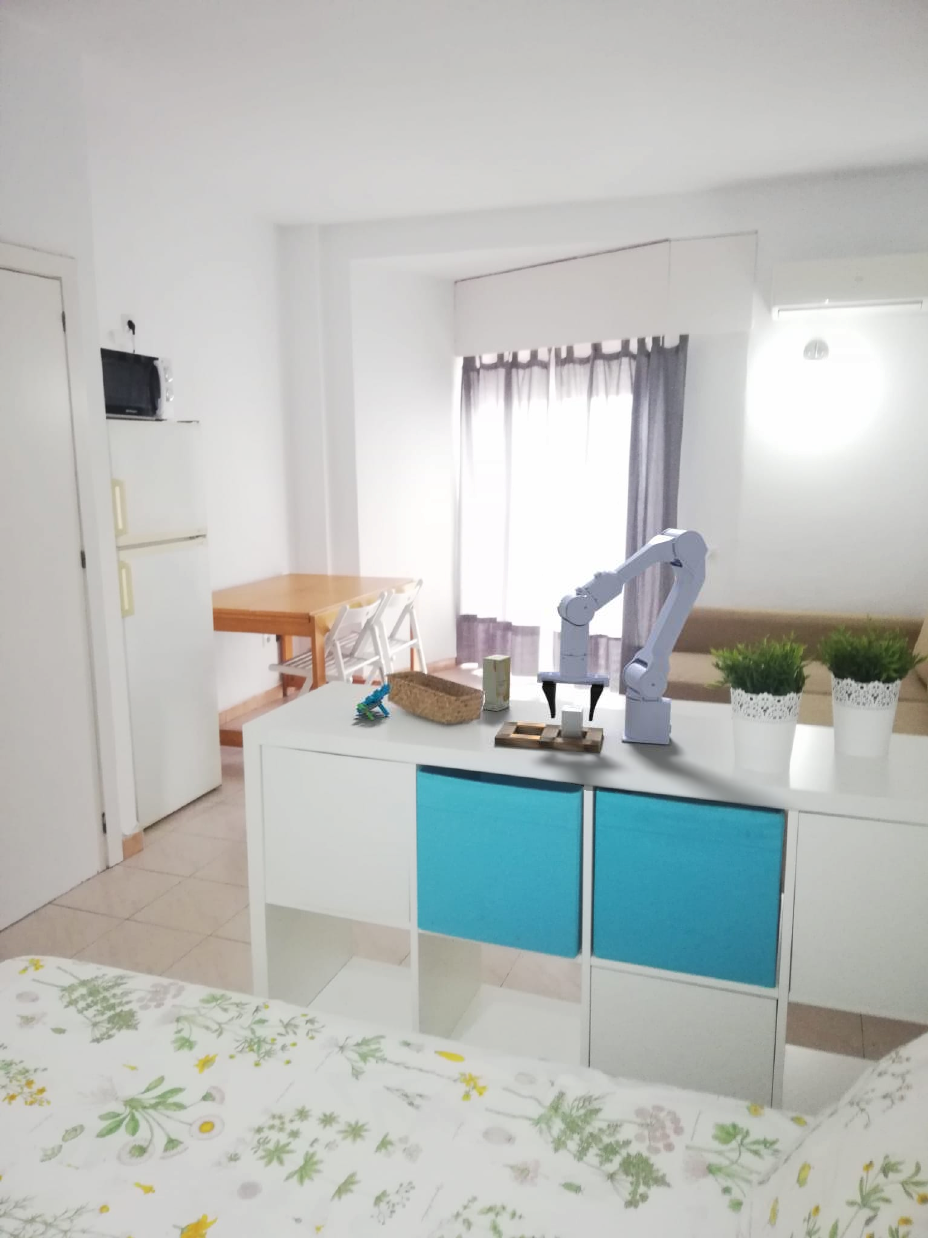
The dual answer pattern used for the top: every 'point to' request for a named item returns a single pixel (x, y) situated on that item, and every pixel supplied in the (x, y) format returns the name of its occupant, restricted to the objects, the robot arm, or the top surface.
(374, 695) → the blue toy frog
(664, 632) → the robot arm
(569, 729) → the steel block
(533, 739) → the socket plate
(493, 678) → the skincare box
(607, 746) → the top surface
